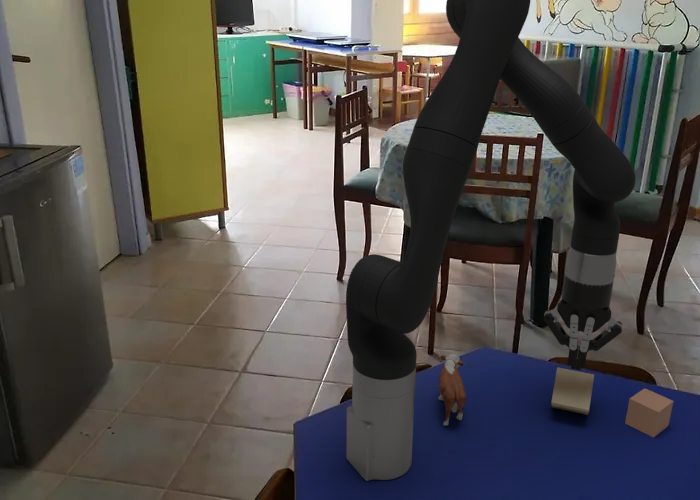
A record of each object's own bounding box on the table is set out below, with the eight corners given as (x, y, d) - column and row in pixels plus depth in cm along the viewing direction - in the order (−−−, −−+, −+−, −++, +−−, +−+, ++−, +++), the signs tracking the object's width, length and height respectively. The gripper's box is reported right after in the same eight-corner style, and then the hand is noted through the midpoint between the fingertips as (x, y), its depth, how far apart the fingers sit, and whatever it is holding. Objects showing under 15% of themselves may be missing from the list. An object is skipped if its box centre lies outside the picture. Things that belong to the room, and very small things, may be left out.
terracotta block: (653, 438, 110) (658, 412, 108) (624, 423, 114) (629, 398, 112) (668, 426, 113) (673, 401, 111) (639, 412, 117) (644, 388, 115)
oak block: (587, 415, 116) (589, 410, 111) (551, 407, 118) (551, 402, 113) (592, 381, 118) (594, 374, 112) (557, 373, 120) (557, 367, 114)
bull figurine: (460, 388, 123) (463, 349, 121) (465, 432, 111) (468, 390, 108) (436, 386, 124) (439, 347, 121) (438, 431, 111) (441, 388, 108)
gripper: (633, 272, 110) (617, 364, 116) (550, 260, 114) (538, 350, 121) (633, 289, 103) (616, 386, 109) (544, 276, 108) (533, 370, 114)
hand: (575, 367), depth 115 cm, fingers closed
